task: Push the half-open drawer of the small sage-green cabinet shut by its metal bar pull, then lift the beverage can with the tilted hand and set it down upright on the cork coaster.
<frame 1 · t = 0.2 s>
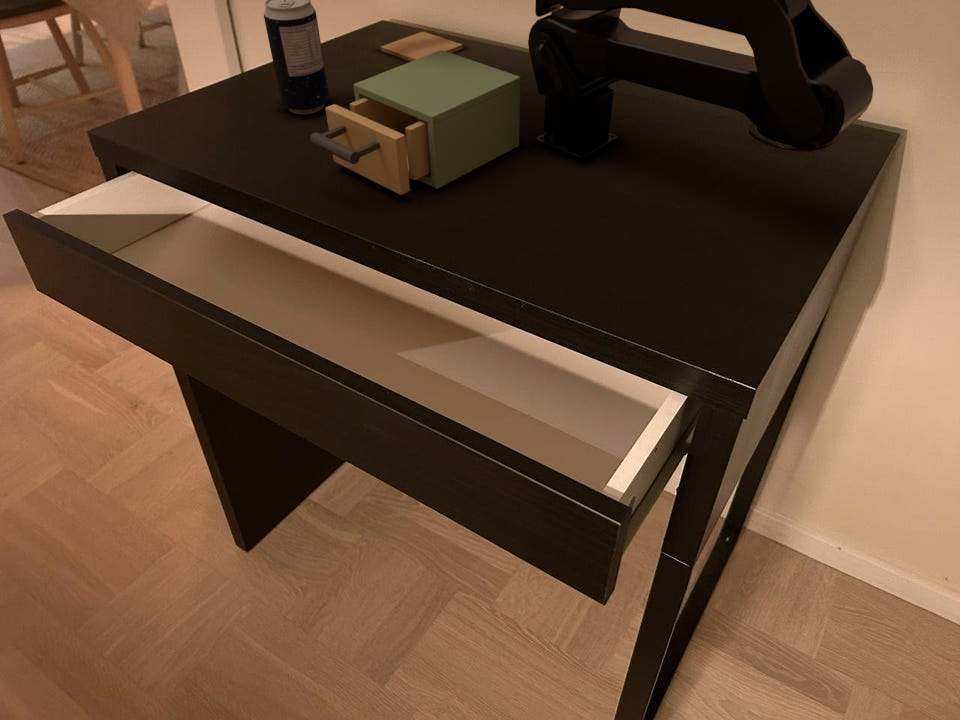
cabinet: (441, 149, 81), on the table
coaster: (422, 49, 103), on the table
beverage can: (306, 108, 90), on the table
drawer: (392, 137, 75), point 4 cm above the table, slide at 3.0 cm
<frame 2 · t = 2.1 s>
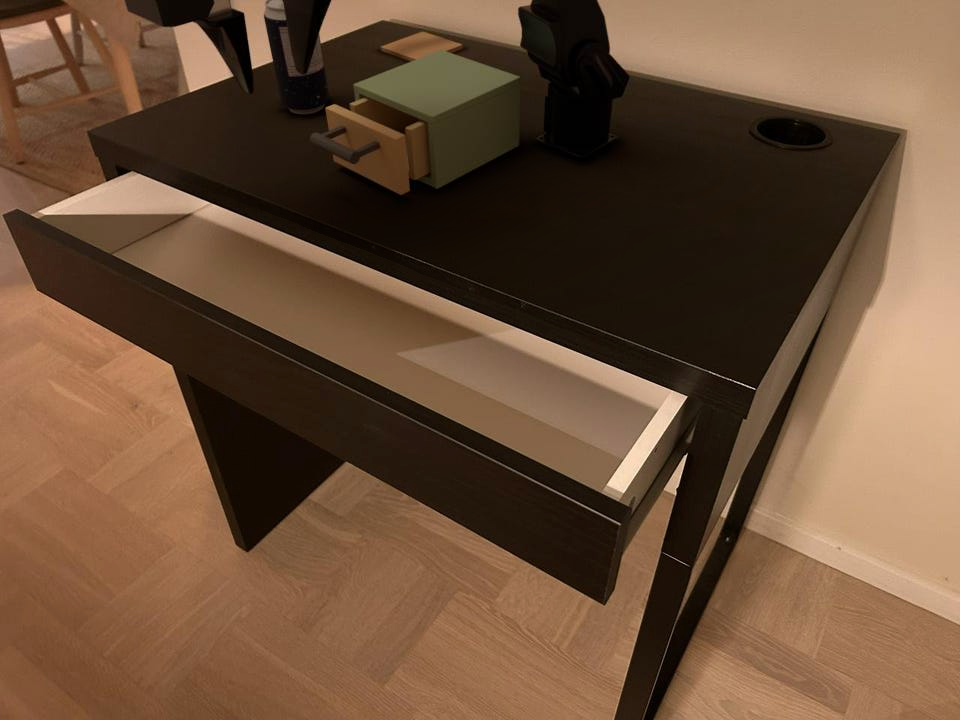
hand: (275, 82, 63), 13 cm above the table, tool pointing down, fingers open, 5 cm apart
nothing on the table moved.
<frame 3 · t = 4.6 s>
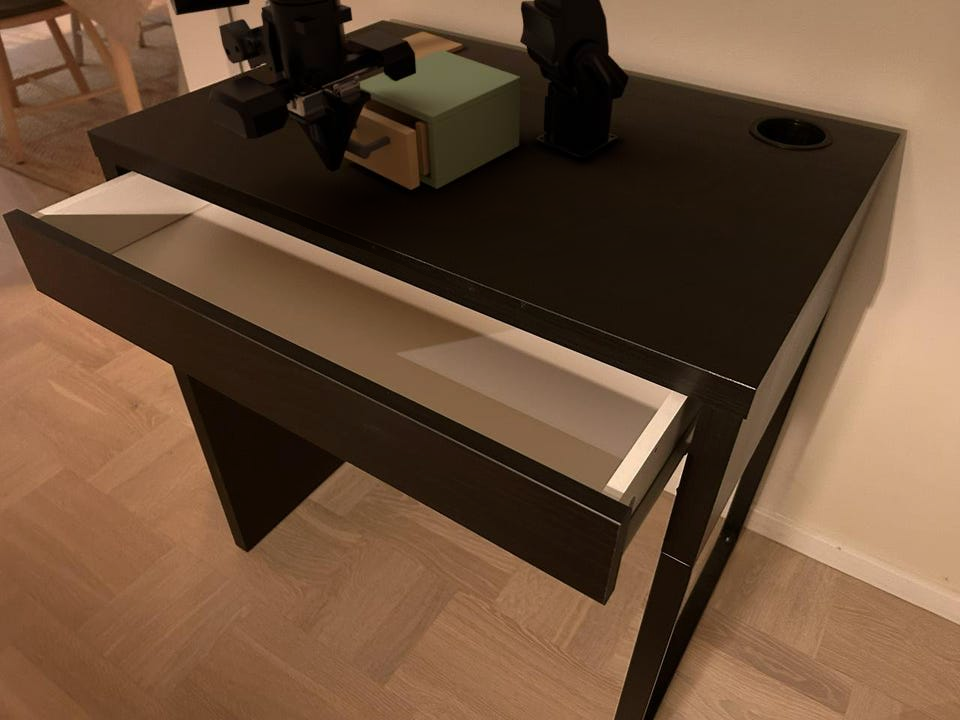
hand: (332, 169, 71), 3 cm above the table, tool pointing down, fingers closed
drawer: (401, 133, 76), point 4 cm above the table, slide at 1.7 cm, touching gripper
everything else where it was.
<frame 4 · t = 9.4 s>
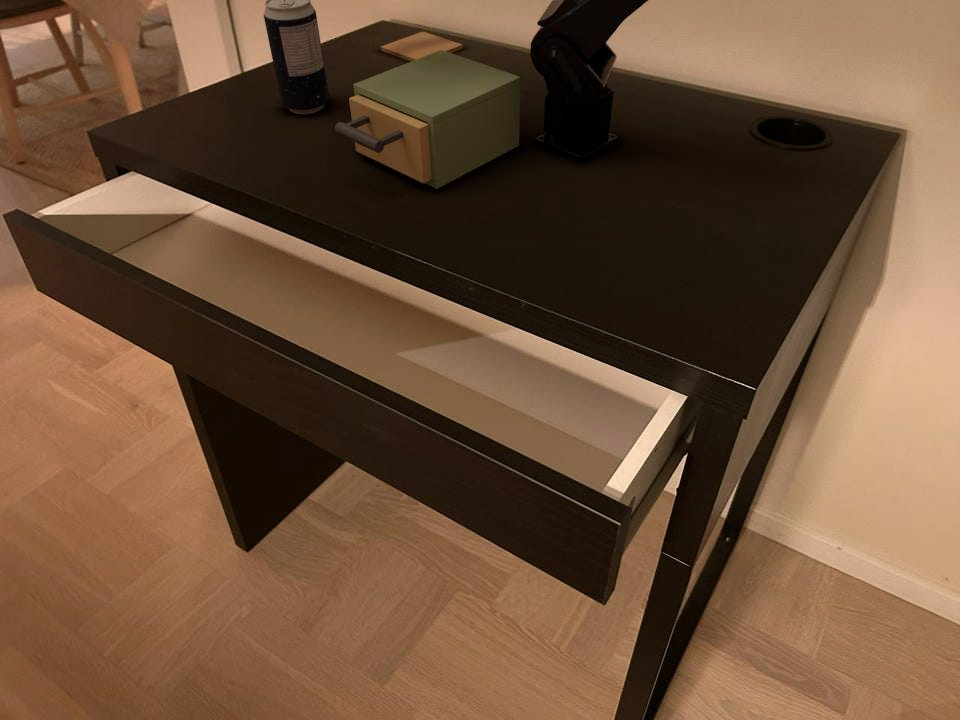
drawer: (413, 127, 77), point 4 cm above the table, slide at 0.0 cm
everything else where it was.
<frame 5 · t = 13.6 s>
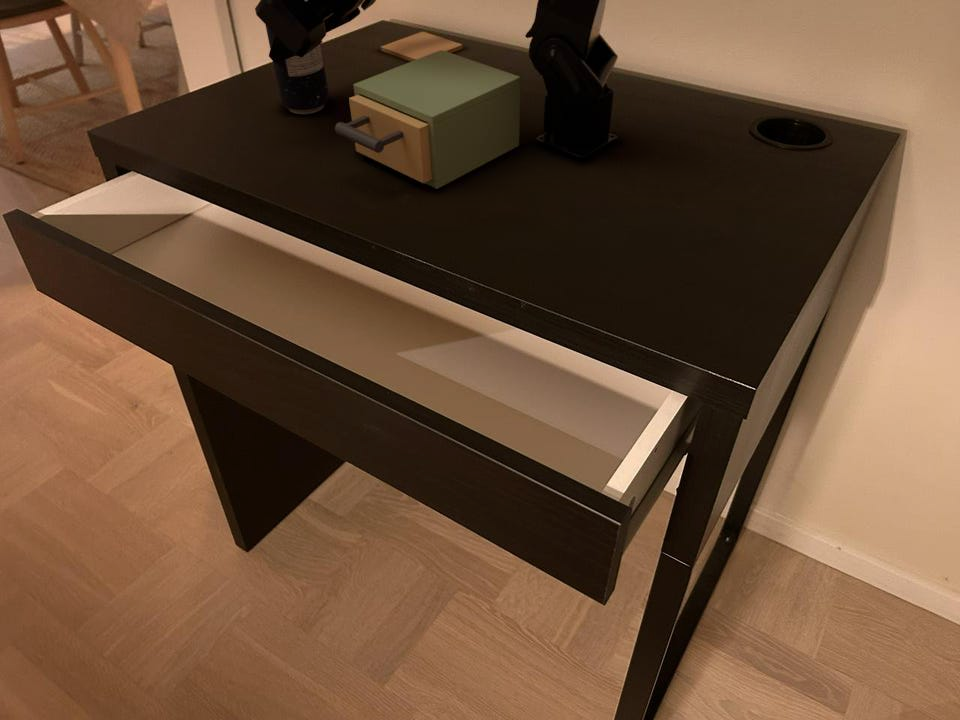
hand: (285, 50, 86), 7 cm above the table, tool tilted 45°, fingers closed on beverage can, 5 cm apart
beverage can: (306, 108, 90), on the table, touching gripper
everything else where it was.
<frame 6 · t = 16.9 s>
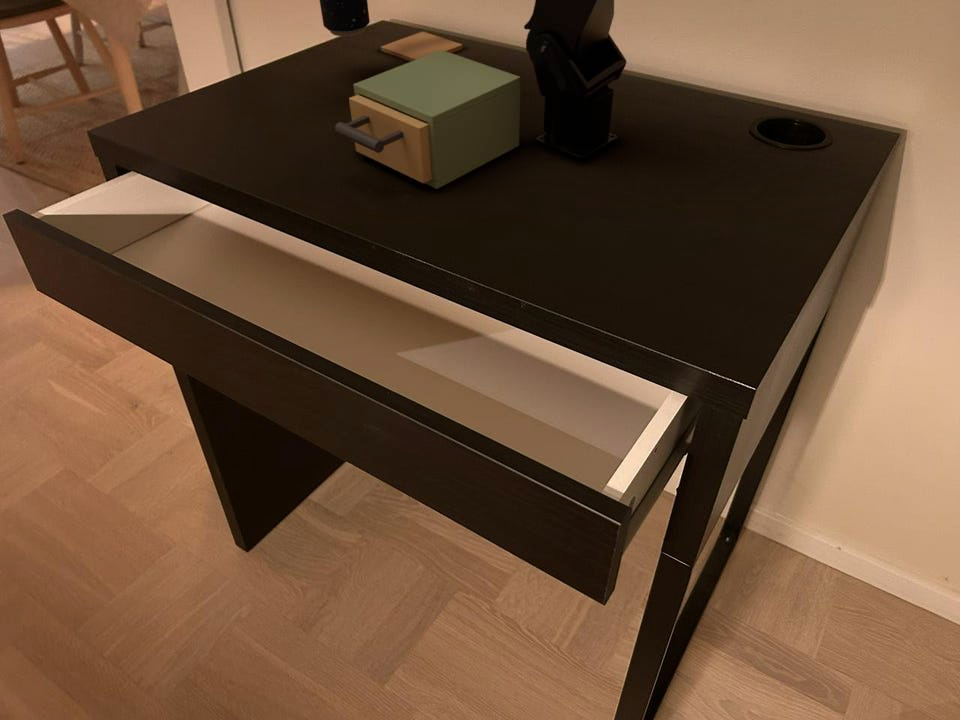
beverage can: (347, 32, 93), point 5 cm above the table, touching gripper
everything else where it was.
when the fingers open (7 cm above the table, at t = 20.6 s): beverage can stays where it is, resting on coaster.
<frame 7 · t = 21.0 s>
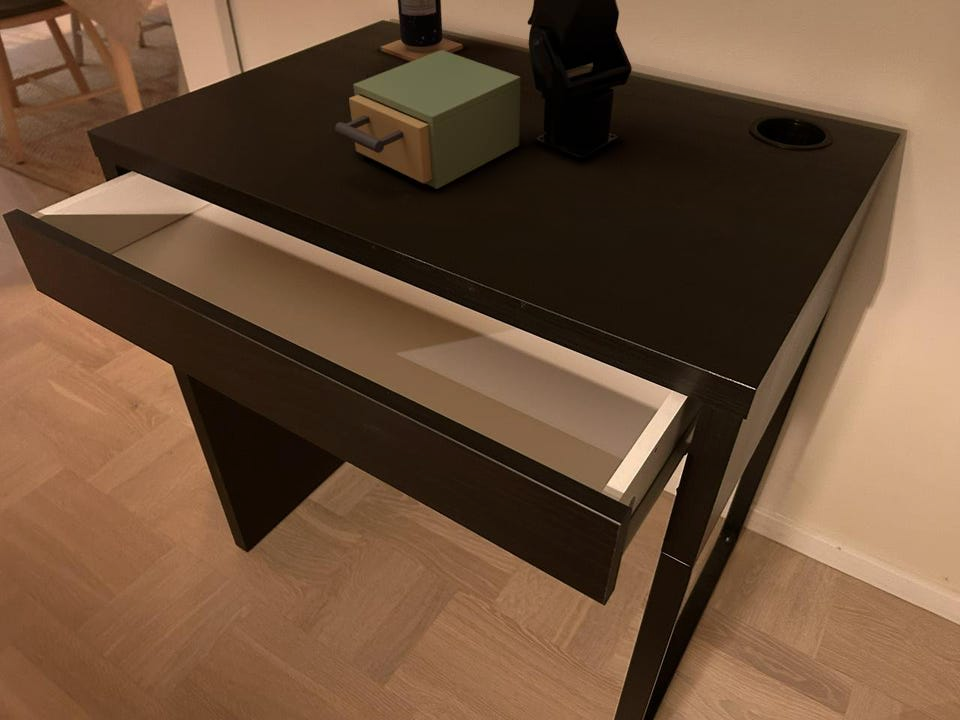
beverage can: (422, 47, 103), resting on coaster
everything else where it was.
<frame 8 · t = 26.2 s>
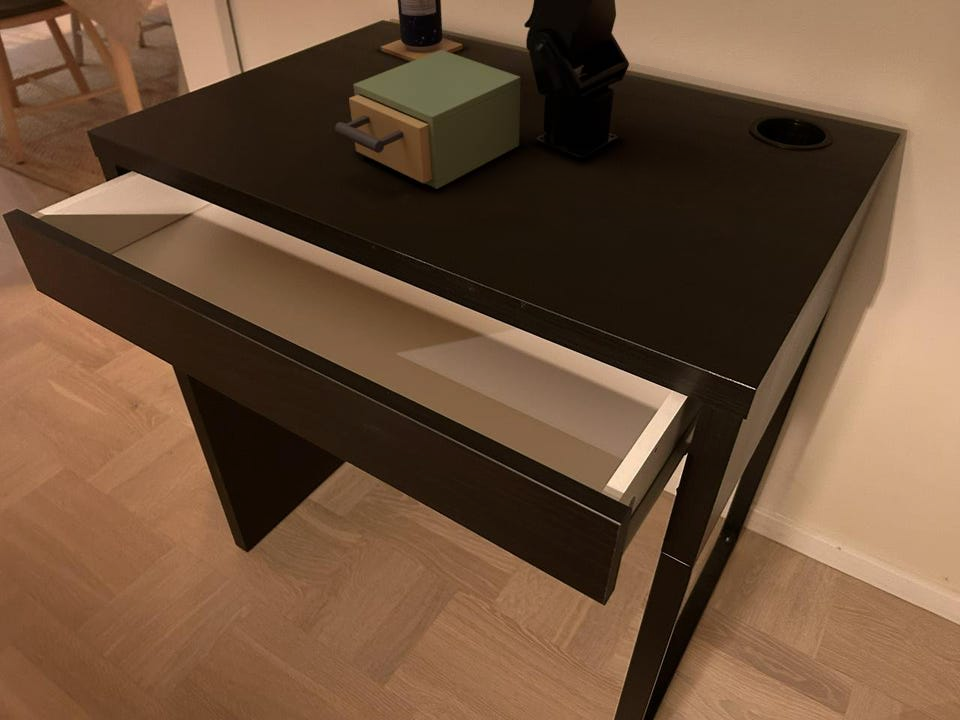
nothing on the table moved.
at the end: drawer slide at 0.0 cm; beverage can 0.2 cm off-centre on the coaster, point 0.4 cm above the coaster's base; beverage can tilted 0° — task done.
